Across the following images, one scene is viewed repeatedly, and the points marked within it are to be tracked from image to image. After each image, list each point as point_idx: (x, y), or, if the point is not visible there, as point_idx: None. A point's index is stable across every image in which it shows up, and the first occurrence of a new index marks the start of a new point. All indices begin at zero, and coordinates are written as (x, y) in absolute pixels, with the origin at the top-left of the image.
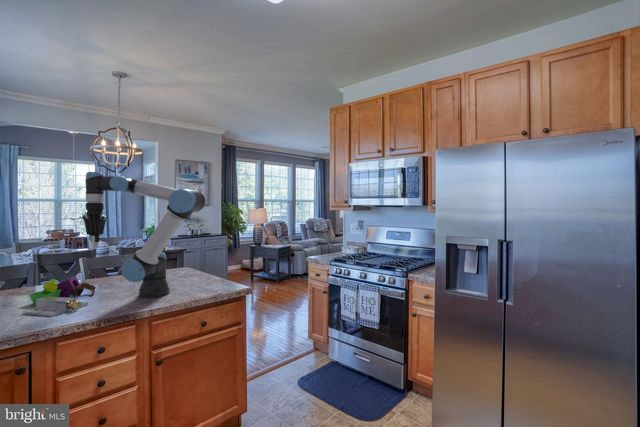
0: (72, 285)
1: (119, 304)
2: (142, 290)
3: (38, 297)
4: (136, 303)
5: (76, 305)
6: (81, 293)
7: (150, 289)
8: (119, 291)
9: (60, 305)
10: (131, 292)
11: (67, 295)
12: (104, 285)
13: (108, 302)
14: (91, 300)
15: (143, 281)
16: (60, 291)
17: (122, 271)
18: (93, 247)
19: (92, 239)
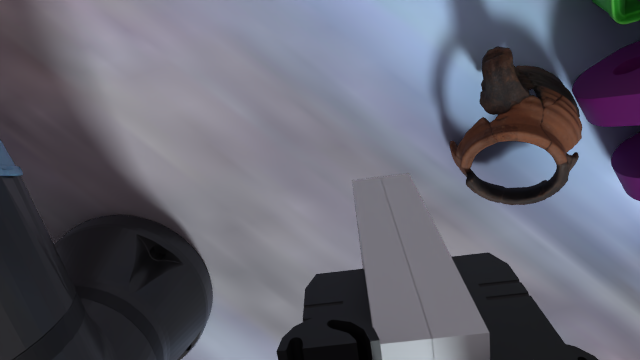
0: (606, 106)
1: (107, 57)
2: (114, 237)
3: None
4: (37, 109)
5: None
6: (482, 90)
7: (59, 252)
8: None
9: None
10: (288, 274)
11: (592, 71)
12: (595, 340)
13: (211, 67)
14: (354, 63)
15: (107, 284)
16: (607, 9)
17: None
18: (365, 188)
19: (416, 269)
